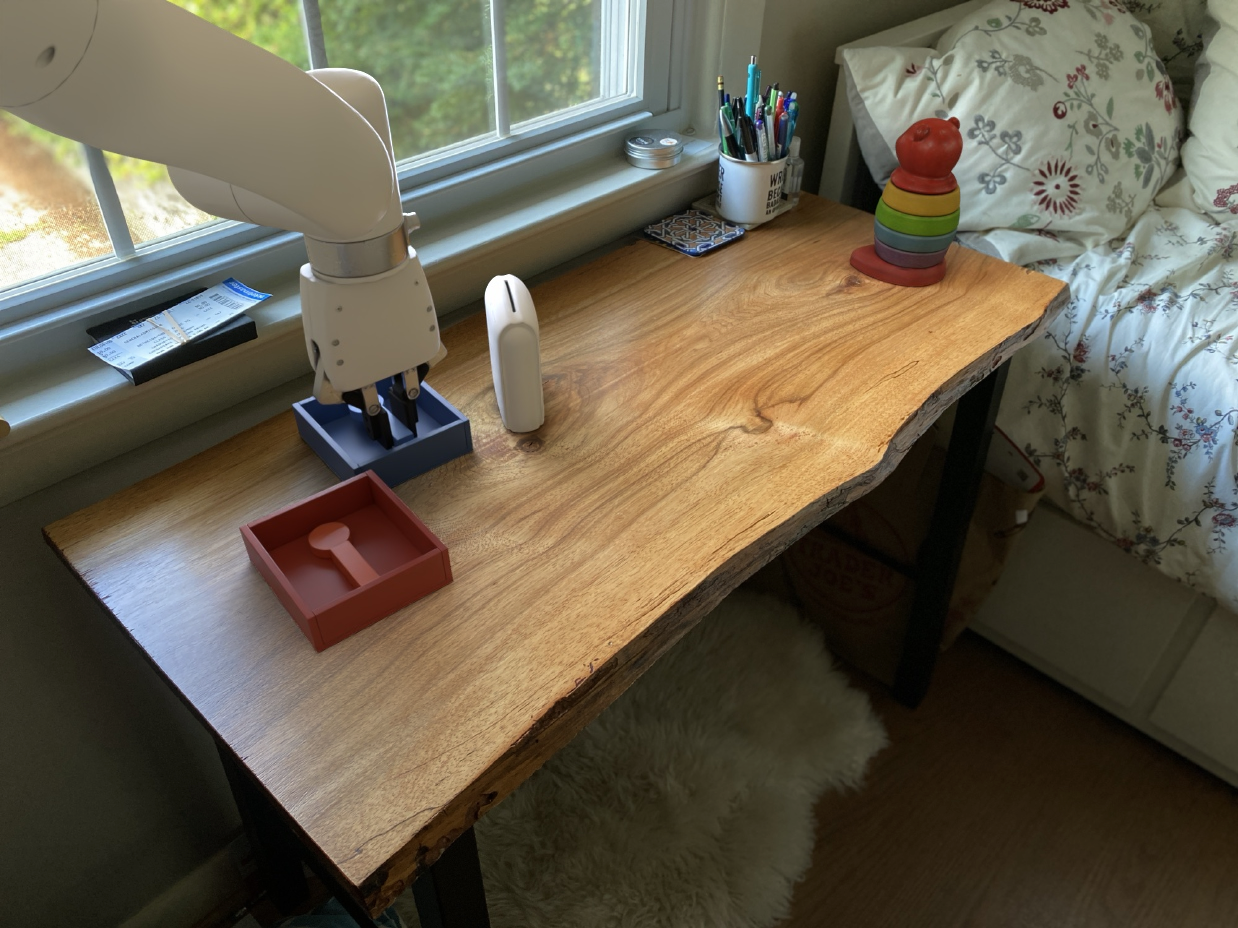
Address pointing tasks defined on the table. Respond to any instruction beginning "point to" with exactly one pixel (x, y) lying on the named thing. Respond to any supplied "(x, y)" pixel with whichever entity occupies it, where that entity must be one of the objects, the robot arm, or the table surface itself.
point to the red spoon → (341, 552)
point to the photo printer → (515, 353)
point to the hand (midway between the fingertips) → (394, 435)
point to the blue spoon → (398, 429)
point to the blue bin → (356, 453)
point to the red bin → (319, 587)
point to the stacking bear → (916, 208)
